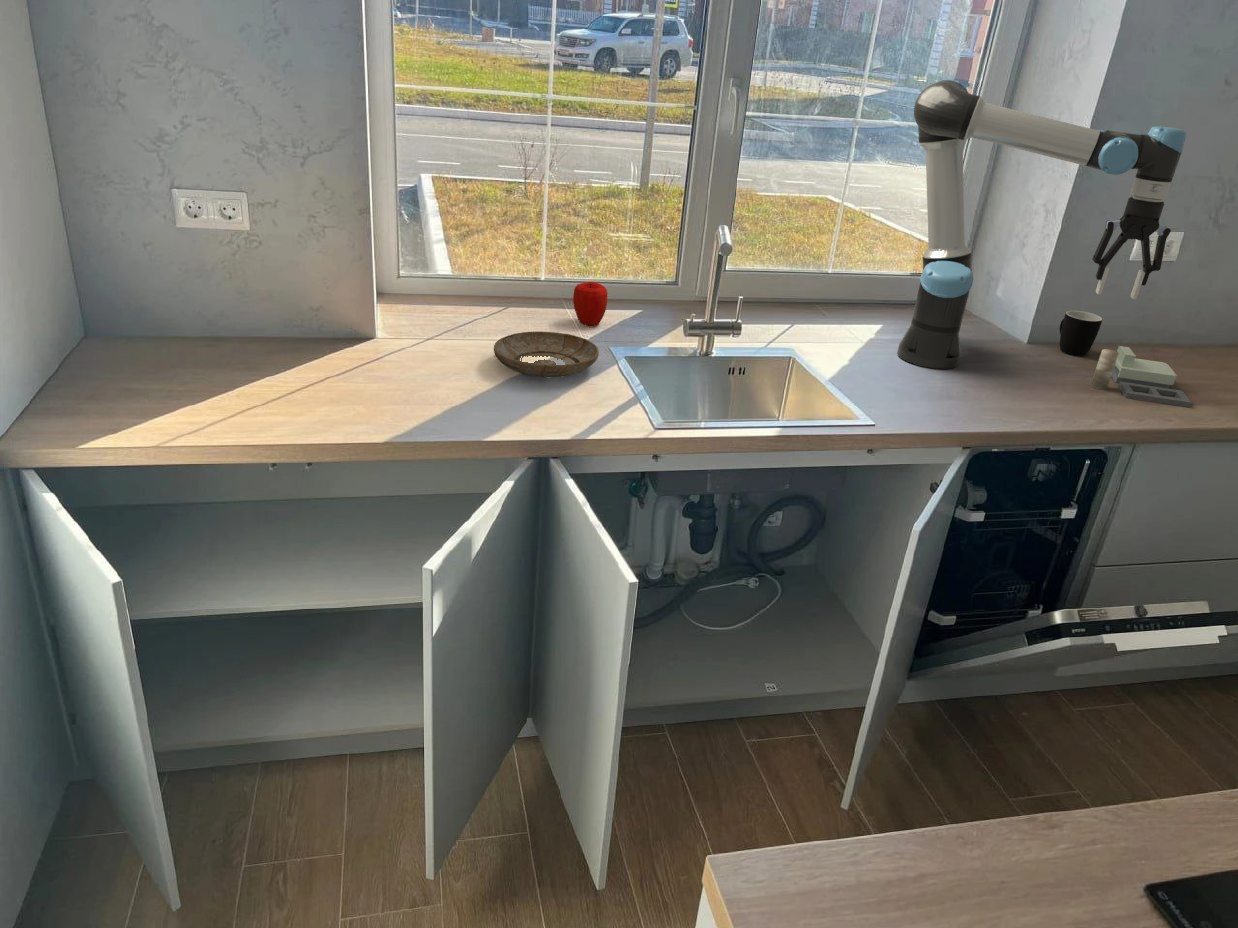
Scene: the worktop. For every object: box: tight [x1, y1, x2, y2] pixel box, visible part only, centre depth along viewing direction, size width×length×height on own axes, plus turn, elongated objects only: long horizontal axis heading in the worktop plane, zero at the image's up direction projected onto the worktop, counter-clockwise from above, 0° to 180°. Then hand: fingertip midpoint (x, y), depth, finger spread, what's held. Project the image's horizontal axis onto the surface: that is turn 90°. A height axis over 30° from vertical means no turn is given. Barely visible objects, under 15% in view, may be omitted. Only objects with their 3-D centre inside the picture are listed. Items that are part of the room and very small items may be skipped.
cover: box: [1115, 345, 1178, 386], centre depth 226 cm, size 13×10×5 cm
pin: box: [1090, 348, 1119, 391], centre depth 219 cm, size 4×4×9 cm
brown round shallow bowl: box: [493, 331, 600, 378], centre depth 204 cm, size 23×24×5 cm
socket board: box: [1117, 382, 1193, 408], centre depth 218 cm, size 14×8×1 cm, turn 75°
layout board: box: [1111, 366, 1171, 389], centre depth 227 cm, size 12×9×3 cm
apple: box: [572, 281, 608, 327], centre depth 233 cm, size 9×9×11 cm
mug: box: [1059, 310, 1103, 357], centre depth 244 cm, size 12×9×10 cm
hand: (1115, 295), depth 221 cm, fingers open, 7 cm apart
